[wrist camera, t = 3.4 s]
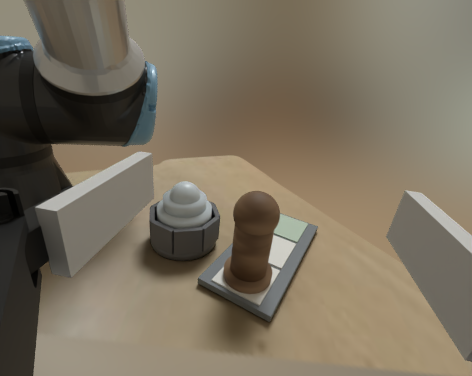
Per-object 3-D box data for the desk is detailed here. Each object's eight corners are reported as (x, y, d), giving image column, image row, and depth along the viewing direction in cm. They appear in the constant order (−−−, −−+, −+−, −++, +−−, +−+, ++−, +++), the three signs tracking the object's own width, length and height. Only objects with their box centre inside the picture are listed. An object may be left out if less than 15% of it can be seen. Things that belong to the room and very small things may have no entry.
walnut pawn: (214, 279, 29) (220, 195, 25) (237, 252, 34) (247, 177, 29) (258, 302, 27) (275, 214, 22) (278, 270, 31) (295, 192, 27)
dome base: (136, 242, 35) (134, 214, 33) (180, 215, 42) (180, 190, 40) (189, 270, 31) (190, 240, 30) (227, 235, 39) (230, 209, 37)
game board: (197, 283, 30) (198, 276, 29) (266, 212, 46) (267, 207, 46) (269, 322, 26) (271, 315, 26) (316, 230, 42) (318, 225, 42)
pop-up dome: (145, 221, 34) (143, 183, 32) (181, 201, 40) (181, 168, 38) (188, 242, 31) (190, 202, 29) (220, 217, 37) (224, 181, 35)
